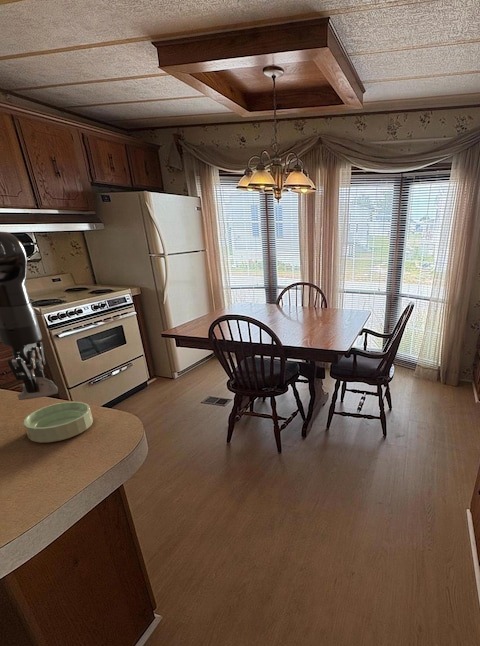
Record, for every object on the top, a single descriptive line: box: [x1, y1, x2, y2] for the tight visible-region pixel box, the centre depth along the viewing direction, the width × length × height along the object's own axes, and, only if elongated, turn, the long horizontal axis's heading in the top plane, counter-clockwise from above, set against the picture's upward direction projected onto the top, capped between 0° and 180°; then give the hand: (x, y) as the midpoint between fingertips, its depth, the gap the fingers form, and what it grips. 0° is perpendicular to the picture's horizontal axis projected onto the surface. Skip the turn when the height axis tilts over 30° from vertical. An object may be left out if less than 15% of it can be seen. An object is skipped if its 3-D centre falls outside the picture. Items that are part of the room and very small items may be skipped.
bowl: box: [23, 401, 94, 443], centre depth 98 cm, size 15×15×5 cm
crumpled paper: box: [16, 377, 59, 401], centre depth 86 cm, size 4×8×7 cm, turn 126°
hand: (37, 387), depth 87 cm, fingers closed on crumpled paper, 4 cm apart
